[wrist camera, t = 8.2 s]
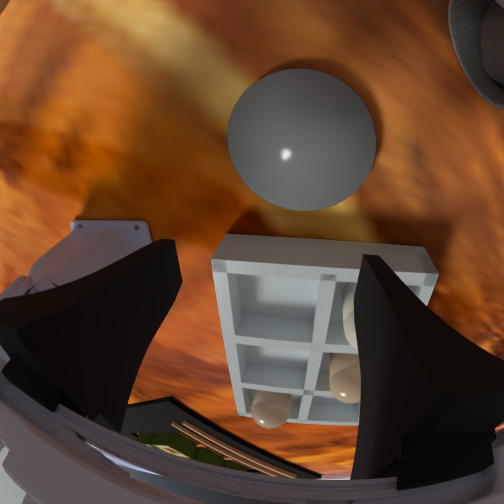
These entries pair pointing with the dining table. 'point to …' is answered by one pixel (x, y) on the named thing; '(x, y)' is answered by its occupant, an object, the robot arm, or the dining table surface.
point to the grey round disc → (301, 139)
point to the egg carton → (297, 315)
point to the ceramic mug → (480, 45)
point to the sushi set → (200, 439)
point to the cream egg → (349, 313)
